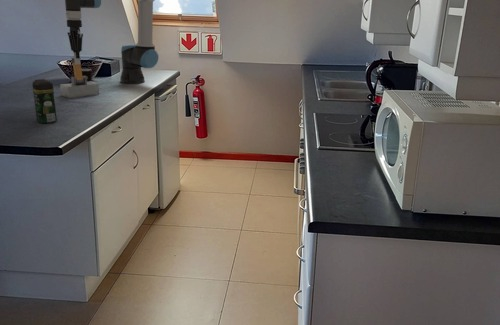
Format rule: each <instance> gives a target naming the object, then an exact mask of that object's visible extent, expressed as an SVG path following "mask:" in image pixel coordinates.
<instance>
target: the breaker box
mask: <svg viewBox="0 0 500 325" xmlns="http://www.w3.org/2000/svg"><path fill="white" fill-rule="evenodd" d="M82 77H83V79H84V83H80V84H76V78H75V76H70V79H71V80H70V81H71V83H61V84H59V88H60V96H62V97H64V98H67V99H71V98H72V99H74V98H80V97H87V96H96V95H99V94H100V86H99V83H98V82H95V81H92V80H91V81H87V76H82Z"/></svg>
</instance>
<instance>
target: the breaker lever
mask: <svg viewBox="0 0 500 325" xmlns="http://www.w3.org/2000/svg"><path fill="white" fill-rule="evenodd" d="M81 62H82V60H81V59H80V64H78V65H75V62H74V57H72V58H71V63H72V66H73V72H74V73H73V74H74V77H75V78H76V84H80V83H84V79H83V77H82V70H81V69H82V64H81Z"/></svg>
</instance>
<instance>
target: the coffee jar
mask: <svg viewBox="0 0 500 325" xmlns="http://www.w3.org/2000/svg"><path fill="white" fill-rule="evenodd" d="M54 91H55V89H54V83H52V82H51V81H49V80H46V79H44V78H43V79H42V78H41V79H40V78H39V79H35V80H34V81H33V82H32V93H33V94H32V95H33V99H34V100H33V101H34V110H35V117H36V121H37V122H38V123H41V124H52V123H54V122H57V120H58V119H57V110H56V103H55V102H56V101H55V93H54Z"/></svg>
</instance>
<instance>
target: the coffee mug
mask: <svg viewBox="0 0 500 325" xmlns="http://www.w3.org/2000/svg"><path fill="white" fill-rule="evenodd" d="M81 70H82V76H87V81H92V72H93V71H92V69H91V68H81ZM72 74H74V71H73V72H70V75H69V76H70V77H72Z"/></svg>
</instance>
